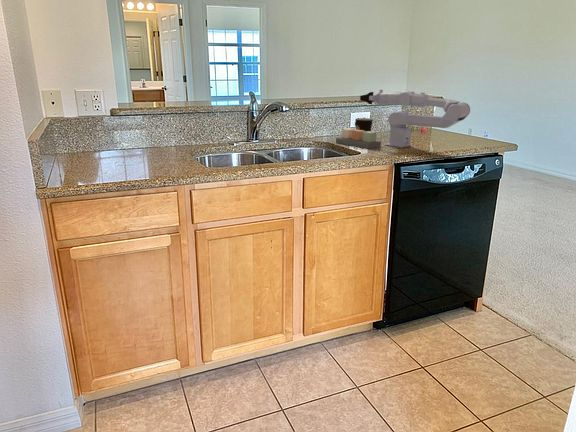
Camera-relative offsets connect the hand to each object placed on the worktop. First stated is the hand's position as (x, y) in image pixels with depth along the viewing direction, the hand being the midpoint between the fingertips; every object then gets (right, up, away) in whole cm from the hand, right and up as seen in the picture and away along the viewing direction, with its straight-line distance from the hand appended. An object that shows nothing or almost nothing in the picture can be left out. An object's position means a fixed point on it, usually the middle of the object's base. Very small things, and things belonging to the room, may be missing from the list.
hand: (365, 98), depth 216 cm
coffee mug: (+1, -18, +12) cm, 21 cm away
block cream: (-9, -20, -2) cm, 22 cm away
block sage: (0, -23, -11) cm, 25 cm away
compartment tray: (-4, -24, -5) cm, 25 cm away
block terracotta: (-4, -21, -6) cm, 23 cm away
